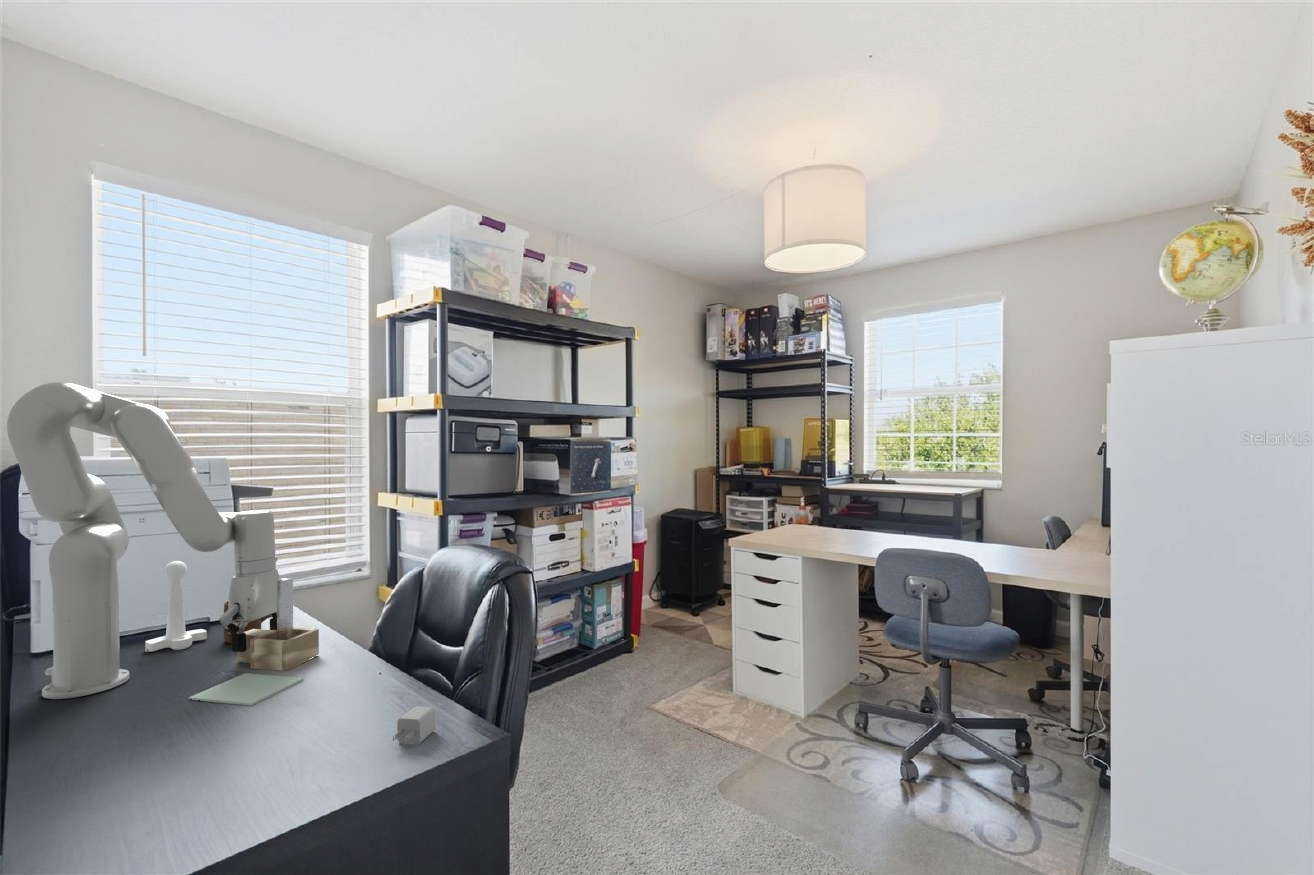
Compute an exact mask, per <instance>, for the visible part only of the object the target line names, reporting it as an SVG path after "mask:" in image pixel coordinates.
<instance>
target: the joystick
mask: <svg viewBox="0 0 1314 875" xmlns="http://www.w3.org/2000/svg"><path fill="white" fill-rule="evenodd" d="M187 574H188V566H187V564H186V563H185V562H183V561H181V560H173V561H170V562H169V563H167V564H166V565H165V566H164V569H163V575H164V576H165V578H166V579H168V582H169V585H168V600H167V617H166V628H165V629H166V633H165V635H163V636H159V637H155V638H152V639H148V640H145V644H144V645H145V652H146V653H148V652H151V653H152V652H155V651H158V650H163V649H165V648H166V649H167V648H170V649H172V650H174V651H180V650H184V649H188V648H190V646H192V645H193V642H196V641H202V640H206V639H207V638H208V636H207V635H208V634H207V633H208V632H207V630H206V629H202V628H200V629H192V630H187V631H186V619H185V618H186V617H185V606H184V594H183V593H184V592H183V578H184V577H185V576H186V575H187Z"/></svg>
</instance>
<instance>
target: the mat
mask: <svg viewBox="0 0 1314 875" xmlns="http://www.w3.org/2000/svg"><path fill="white" fill-rule="evenodd" d="M302 680H303V681H304V678H303V677H295V676H294V677H293V676H285V675H283V676H281V675H270V674H259V673H258V674H257V673H249V672H248V673H246V672H245V673H243V674H240V675H238V676H236V677H234V678H231V679H229V680H226V681H224V682H222V683H219V684H217V685H215V686H212V687H209V688H208V689H205V690H203V691H200V692H198V693H195V694H194V695H191V696H189V697H188V700H189V699H192V700H191V701H198V700H200V701H199V702H211V703H219V704H229V705H230V704H231V705H239V706H249V707H252V706H254V705H255V704H257V703H260V702H262V701H264V700H266V699H268V698H270V697H272V696H274V695H276V694H278V693H280V692H282V691H284V690H286V689H289V688H290V687H292V686H294V685H296V684H298V683H300V682H302Z"/></svg>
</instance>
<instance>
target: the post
mask: <svg viewBox="0 0 1314 875" xmlns="http://www.w3.org/2000/svg"><path fill="white" fill-rule="evenodd" d="M293 628H294V578H293V577H283V578H282V577H281V578H280V579H278V580H277V640H288V639H291V638H293Z"/></svg>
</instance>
